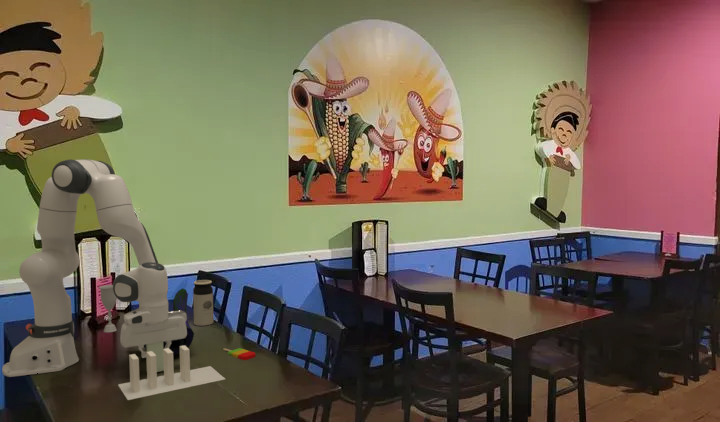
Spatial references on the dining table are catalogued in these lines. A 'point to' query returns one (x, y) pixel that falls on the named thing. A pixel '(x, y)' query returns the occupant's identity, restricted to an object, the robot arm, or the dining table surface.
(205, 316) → the travel mug
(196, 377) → the mat
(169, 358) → the domino
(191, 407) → the dining table surface
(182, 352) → the domino
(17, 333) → the dining table surface
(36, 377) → the dining table surface
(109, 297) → the chalice
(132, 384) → the domino
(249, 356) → the popsicle
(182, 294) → the decorative plant
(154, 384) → the domino
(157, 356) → the domino
